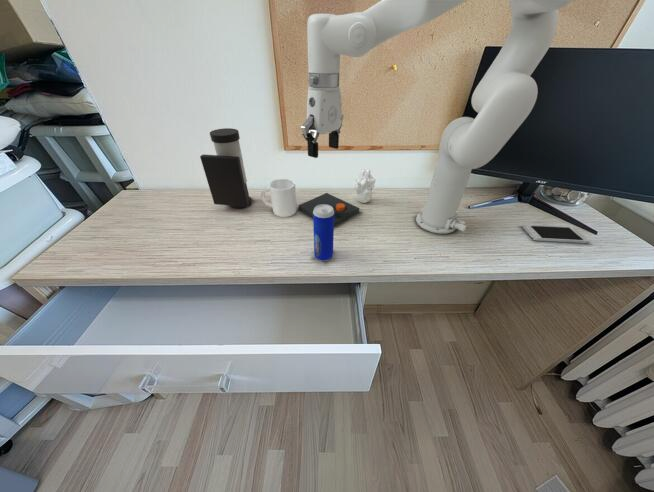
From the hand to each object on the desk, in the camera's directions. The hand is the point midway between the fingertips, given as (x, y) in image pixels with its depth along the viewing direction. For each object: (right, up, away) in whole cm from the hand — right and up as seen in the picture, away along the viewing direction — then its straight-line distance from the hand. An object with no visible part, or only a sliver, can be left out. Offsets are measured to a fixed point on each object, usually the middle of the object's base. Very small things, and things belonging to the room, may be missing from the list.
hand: (323, 152), depth 74 cm
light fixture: (-31, -12, +20) cm, 39 cm away
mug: (-15, -15, +16) cm, 27 cm away
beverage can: (0, -30, -2) cm, 30 cm away
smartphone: (+71, -24, +6) cm, 76 cm away
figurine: (+14, -11, +22) cm, 28 cm away
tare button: (+5, -15, +11) cm, 19 cm away
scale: (+1, -15, +16) cm, 22 cm away
